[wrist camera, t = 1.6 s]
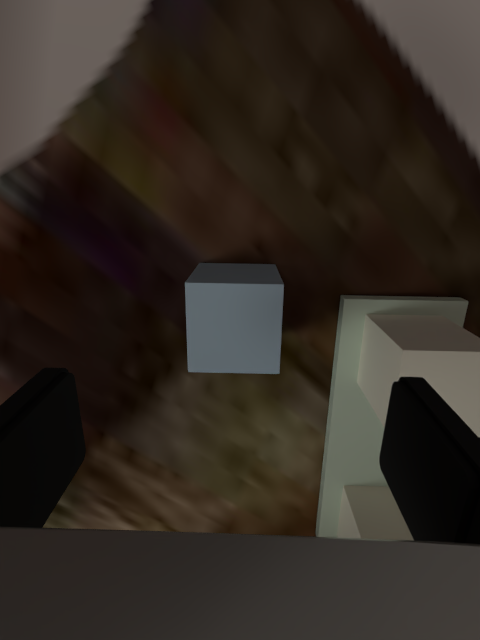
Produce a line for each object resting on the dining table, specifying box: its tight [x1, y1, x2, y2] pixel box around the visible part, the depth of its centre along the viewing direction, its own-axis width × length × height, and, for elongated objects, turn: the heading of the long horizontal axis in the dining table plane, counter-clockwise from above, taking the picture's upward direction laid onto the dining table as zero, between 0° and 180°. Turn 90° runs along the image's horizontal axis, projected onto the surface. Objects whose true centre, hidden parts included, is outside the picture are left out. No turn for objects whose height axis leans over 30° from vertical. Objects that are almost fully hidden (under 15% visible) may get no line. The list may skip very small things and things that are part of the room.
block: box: [185, 263, 284, 374], centre depth 22 cm, size 5×5×6 cm
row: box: [315, 295, 480, 540], centre depth 24 cm, size 21×8×7 cm, turn 179°
